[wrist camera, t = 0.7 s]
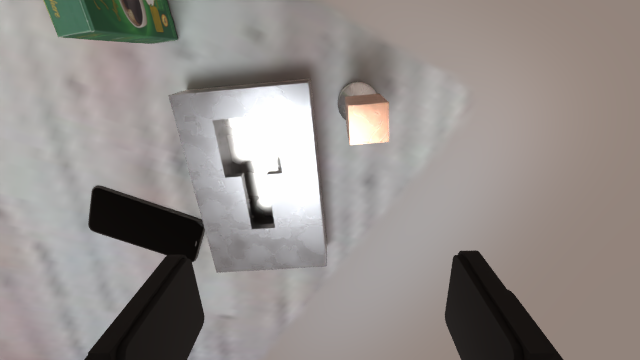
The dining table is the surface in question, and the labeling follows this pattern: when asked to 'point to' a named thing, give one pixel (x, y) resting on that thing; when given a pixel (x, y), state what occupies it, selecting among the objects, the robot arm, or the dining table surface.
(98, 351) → the robot arm
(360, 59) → the dining table surface
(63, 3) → the coffee box
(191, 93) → the keyhole plate
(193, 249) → the smartphone
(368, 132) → the peg
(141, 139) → the dining table surface
